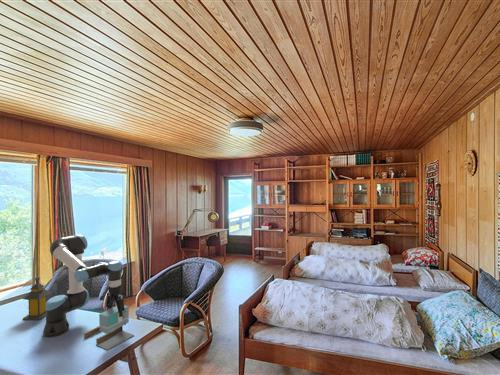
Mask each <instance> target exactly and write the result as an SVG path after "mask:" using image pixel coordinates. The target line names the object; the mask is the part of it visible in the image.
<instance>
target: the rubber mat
mask: <svg viewBox="0 0 500 375" xmlns="http://www.w3.org/2000/svg"><path fill="white" fill-rule="evenodd" d="M133 337H135V335H134V334H133V333H129V332H127V331H125V330H122V331H120V332H118V333H117V334H115V335H113V336H111V337H109V338H107V339H105V340H103V341H102V342H100V343H98V344H97V343H96V344H95V346H96V347H98V348H101V349H103V350H104V351H106V352H109V351H110V350H112V349H114V348H116V347H118V346H119V345H121V344H122V342H123V343H125V342H126V341H127V340H129V339H131V338H133ZM115 346H116V347H115ZM108 350H109V351H108Z"/></svg>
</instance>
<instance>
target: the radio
mask: <svg viewBox="0 0 500 375" xmlns="http://www.w3.org/2000/svg"><path fill="white" fill-rule="evenodd" d="M120 295H121V296H122V294H121V293H120ZM124 308H125V310H124V311H122V321H120V322H118V308H117V305H116V306H113V308H112V307H111V309H109V310H107V309H106V310H105V311H103V312H100V313H99V314H98V316H99V318H98V319H99V320H98V322H99V323H98V324H99V325H98V326H100V331H99V332H101V333H104V334H108V333H111V332H112V331H114V330H116V329H118V328H120V327H121V326H126V325H127V324H128V323H129V320H130V318H129V306H128V305H125V304H124Z"/></svg>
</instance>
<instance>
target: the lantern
mask: <svg viewBox="0 0 500 375" xmlns="http://www.w3.org/2000/svg"><path fill="white" fill-rule="evenodd" d="M34 280H35V284H34V285H33V286H32V287H31V288H30V292H29V293H28V294H27V295H26V296H24V297H23V298H22V299H23V300H28V301H27V302H28V314H27V315H25V316H24V317H23V318H22V321H41V320H43V319H44V318H46V309H45V307H46V302H47V301H48V300H47V298H48V297H47V296H48V295H50V294H52V291H49V290H48V289H46V288H45V289H44V287H45V285H44V284H42V283H39V281H40V277H39V276H36V277H35V278H34Z"/></svg>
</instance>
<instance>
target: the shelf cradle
mask: <svg viewBox="0 0 500 375" xmlns="http://www.w3.org/2000/svg"><path fill="white" fill-rule="evenodd" d="M107 310H108V307H106V311H107ZM123 326H124V325H123ZM123 326H121V327H120V328H118V329H116V330H114V331H112V332H111V333H108V334H106V333H104V334H103V335H100V336H99V337H97V338H96V340H95V341H96V342H95V343H96V344H98V343H100V342H102V341H103V340H105V339H107V338H109V337H111V336H113V335H115V334H117V333H118V332H120V331H122V330H123ZM123 331H124V330H123ZM99 332H101V331H100V326H99V325H98V326H96V327H94V328H92V329H90V330H88V331H86V332H84V334H83V337H84V339H87V338H89V337H91V336H93V335H94V334H97V333H99Z"/></svg>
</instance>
